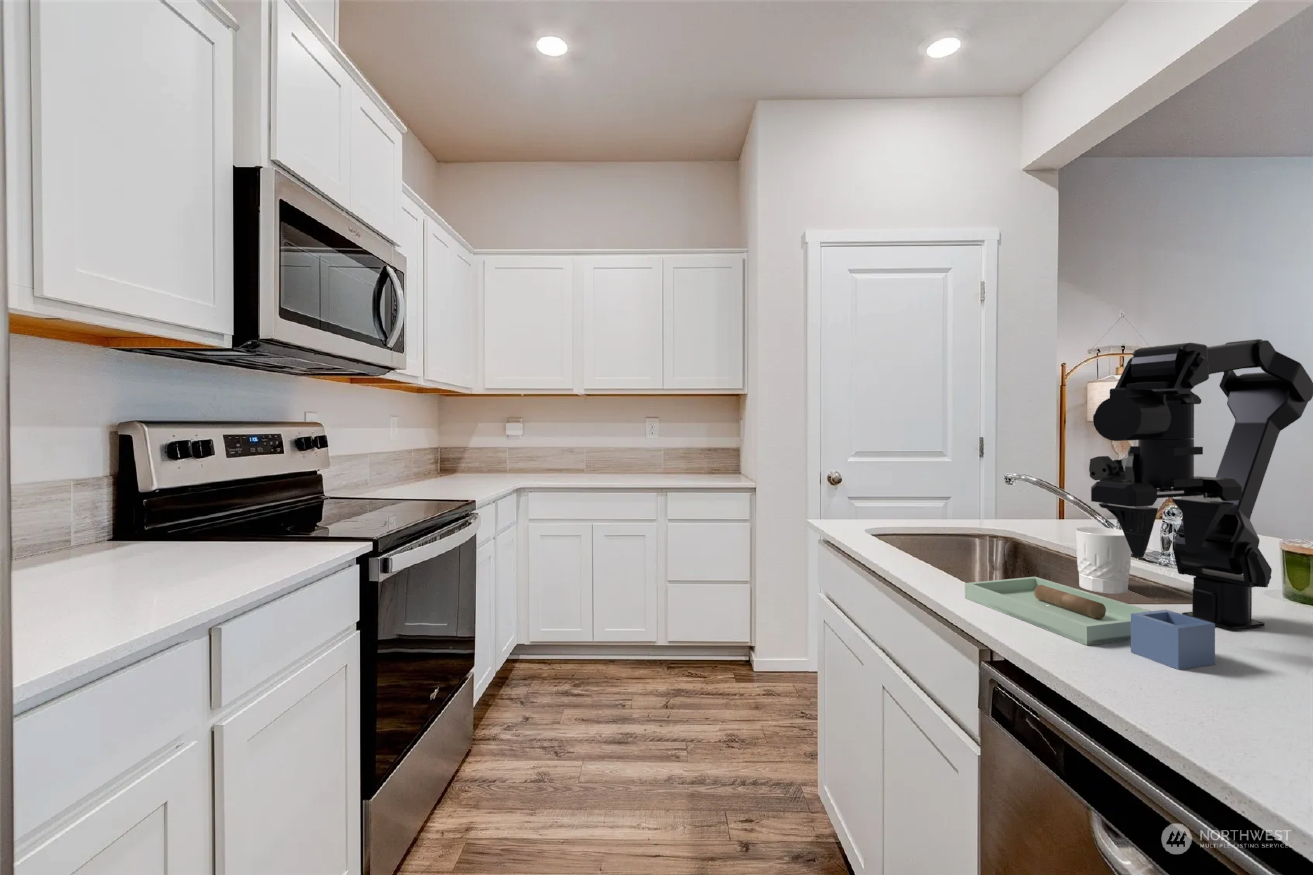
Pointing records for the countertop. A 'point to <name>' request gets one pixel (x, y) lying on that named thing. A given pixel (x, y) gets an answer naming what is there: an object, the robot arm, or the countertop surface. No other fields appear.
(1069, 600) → the walnut dowel
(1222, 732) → the countertop surface
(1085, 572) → the white cup
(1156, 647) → the slate blue cup
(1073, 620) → the sage tray
